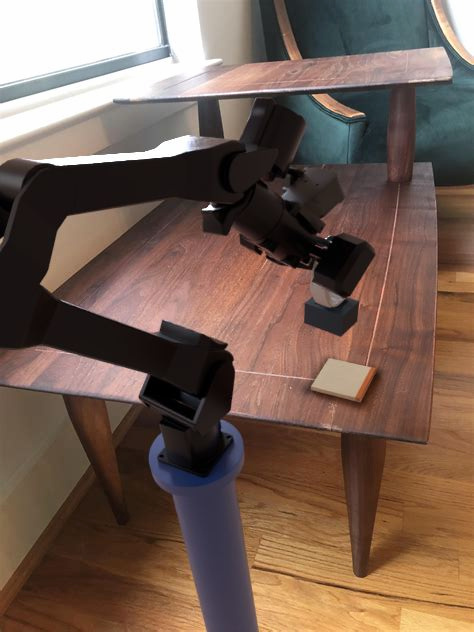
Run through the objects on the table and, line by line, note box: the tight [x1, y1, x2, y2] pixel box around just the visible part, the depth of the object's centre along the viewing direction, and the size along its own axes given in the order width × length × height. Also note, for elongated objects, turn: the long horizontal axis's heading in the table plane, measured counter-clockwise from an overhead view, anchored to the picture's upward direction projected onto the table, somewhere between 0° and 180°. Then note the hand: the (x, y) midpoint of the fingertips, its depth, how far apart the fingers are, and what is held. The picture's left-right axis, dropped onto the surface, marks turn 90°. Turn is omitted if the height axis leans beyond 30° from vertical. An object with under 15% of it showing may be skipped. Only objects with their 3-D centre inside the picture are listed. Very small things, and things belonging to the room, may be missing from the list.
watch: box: [303, 247, 360, 338], centre depth 69 cm, size 6×8×11 cm
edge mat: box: [310, 357, 377, 403], centre depth 69 cm, size 6×6×1 cm
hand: (338, 274), depth 69 cm, fingers closed on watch, 5 cm apart
